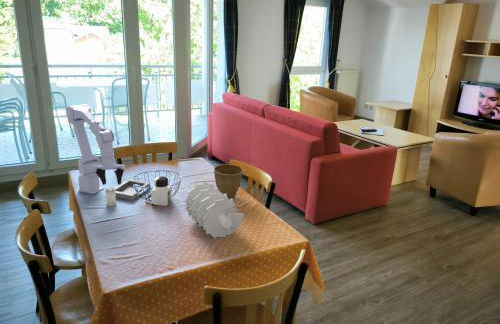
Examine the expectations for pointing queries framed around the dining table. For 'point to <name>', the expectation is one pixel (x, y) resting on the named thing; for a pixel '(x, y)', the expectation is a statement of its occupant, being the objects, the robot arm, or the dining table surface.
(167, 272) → the dining table surface
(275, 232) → the dining table surface
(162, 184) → the container
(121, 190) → the tray
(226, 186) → the plant pot
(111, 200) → the shaker
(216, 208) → the spiral staircase
